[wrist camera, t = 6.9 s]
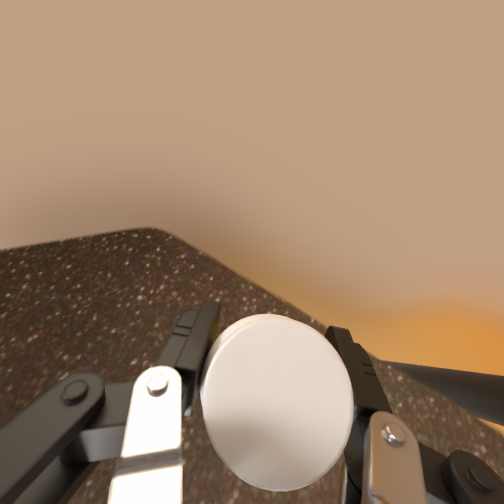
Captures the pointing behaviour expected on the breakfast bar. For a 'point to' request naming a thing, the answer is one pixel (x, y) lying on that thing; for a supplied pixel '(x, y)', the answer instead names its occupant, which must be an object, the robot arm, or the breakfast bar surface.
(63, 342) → the breakfast bar surface
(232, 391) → the supplement bottle
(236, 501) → the breakfast bar surface
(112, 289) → the breakfast bar surface
